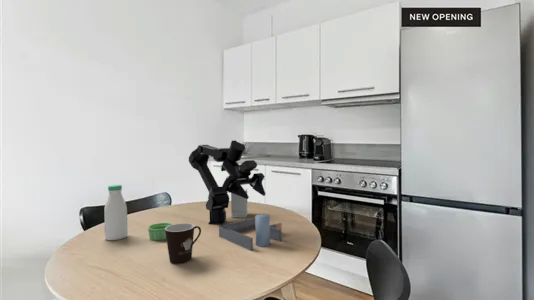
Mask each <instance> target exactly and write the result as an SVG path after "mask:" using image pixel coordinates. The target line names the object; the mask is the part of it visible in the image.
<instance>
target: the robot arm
mask: <svg viewBox="0 0 534 300" xmlns="http://www.w3.org/2000/svg"><path fill="white" fill-rule="evenodd" d="M245 150H246V146H245V144H243V143H241V142H239V141H237V140H231V142H230V146H229V147H221V148H219V147H216V146H211V145H209V144H200V145H198V146H197V147H196V149H194V150H192V151H191V153H190V155H189V157H188V162H189V164H190V165H191V167H192V168H193V169H194V170H195V171H198V174H199V175H200V177H201V178H202V179H201V180H202V182H204V185H205V187H206V189H207V192H208V196H207V201H206V202H205V209H206V210H207V211H209V222H208V225H224V224H225V222H226V221H227V211H226V209H228V208H229V202H230V195H229V194H228V193H230V194H231V193H233V194H236V195H238V196H241V197H243V198H245V199H247V200H248V199H249V195H248V192H247V193H246V192H245V190H244V189H245V188H243V186H244V185H245V186H246V185H249V186H250V187H251V189H253V190H254V191H255V192H257V193H259V194H260V195H261V196H264V197H265V196H266V191H265V189H264V185H263V180H264V179H265V175H264V174H263V172H259V173H258V172H257V173H253V174H252V171H253V170H255V169H257V167H258V163H257V161H255V160H253V159H251V160H244V161H243V162H242V163H241V164H239V162H240V161H241V159H242V158H243V157H242V156H244V152H245ZM210 157H212V159H213V161H215V162H217V163H222V164H221V167H220V171H221V172H226V173H227V174H228V176H226V178H225V180H224V181H223V184H222V185H221V186H219V185H218V182H217V181H216V179H215V177H214V176H213V174H212V172H211V170H210V168H209V166H208V163H209V159H210ZM238 161H239V162H238ZM251 175H252V177H250V176H251Z"/></svg>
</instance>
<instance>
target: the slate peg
mask: <svg viewBox="0 0 534 300" xmlns="http://www.w3.org/2000/svg"><path fill="white" fill-rule="evenodd" d="M254 218H255V224H256V228H255V246H256V247H261V248H263V247H264V248H265V247H269V246H271V238H270V225H271V219H270V218H271V217H270V214H269V213H260V214H259V213H258V214H255V217H254Z"/></svg>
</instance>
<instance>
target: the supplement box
mask: <svg viewBox="0 0 534 300" xmlns="http://www.w3.org/2000/svg"><path fill="white" fill-rule="evenodd" d="M243 189H244V190H245V192H246V193H247V194H248V188H243ZM230 206H231V208H230V209H231V211H230V212H231V218H247V215H248V212H249V211H248V199H245V198H243V197H241V196H238V195H236V194H233V193H230Z"/></svg>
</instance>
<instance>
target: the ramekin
mask: <svg viewBox="0 0 534 300" xmlns="http://www.w3.org/2000/svg"><path fill="white" fill-rule="evenodd" d="M170 225H174V224H173V223H172V222H157V223H154V224H153V223H152V224H151V225H148V226H147V230H148V237H149V239H150V240H152V241H163V240H164V241H165V240H166V233H165V228H166V227H167V226H170Z"/></svg>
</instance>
